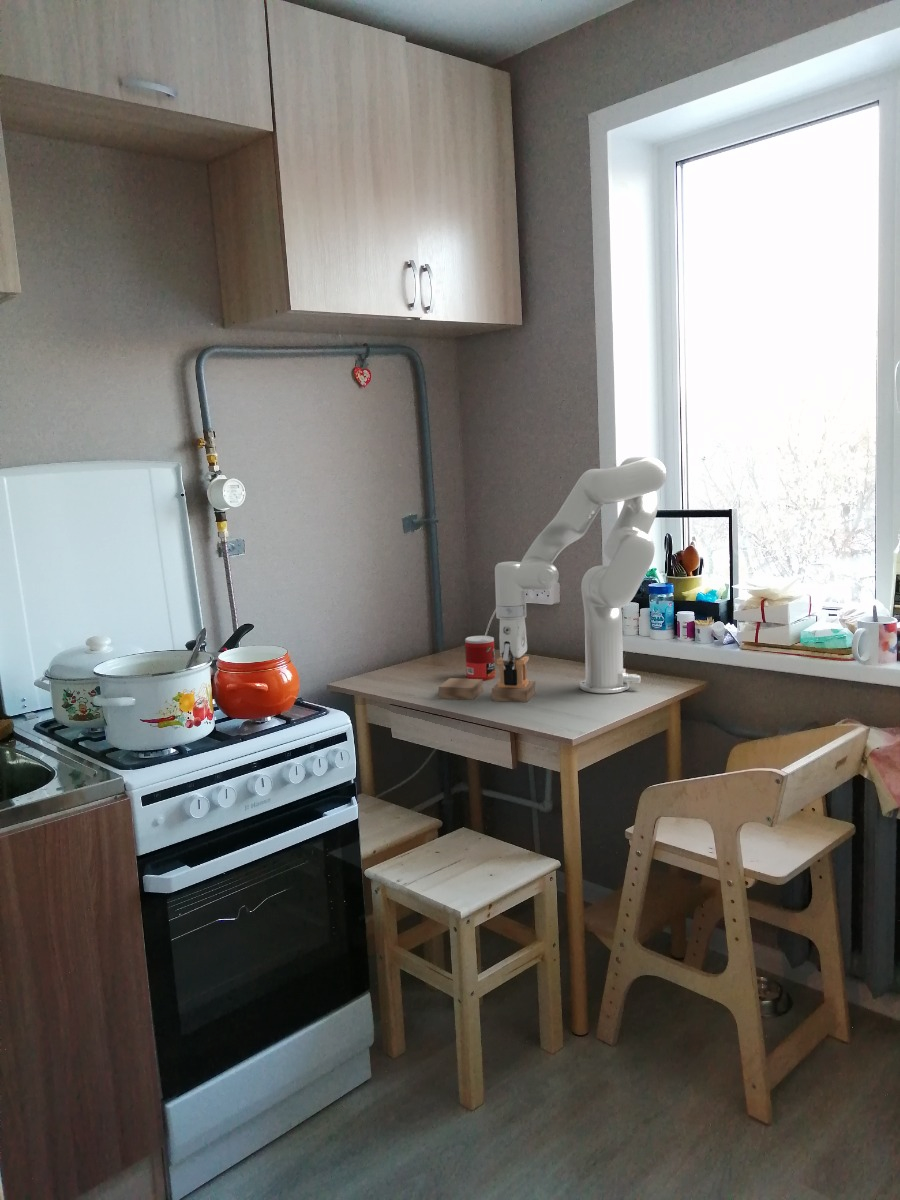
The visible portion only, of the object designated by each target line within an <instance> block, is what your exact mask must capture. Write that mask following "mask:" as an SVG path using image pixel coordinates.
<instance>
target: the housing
mask: <svg viewBox="0 0 900 1200" xmlns="http://www.w3.org/2000/svg"><path fill="white" fill-rule="evenodd" d="M509 657H513V656H510V655H509ZM529 660H530V657H529V655H522V656H521V657H520V658H519V659H517V658H516V664H515V669H516V670H517V685H516V686H513V685H505V684H504V662H503V658H502V657H501V656H500V657H498V658H497V659H496V664H497V665H499V681H498V682H497V683H498V687H510V688H525V687H526V686H527V685H528V684H529V683H530V682H529V681H530V678H529V679H528V678H527V663H528V661H529ZM510 661H511V662H512V660H510Z"/></svg>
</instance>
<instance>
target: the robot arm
mask: <svg viewBox="0 0 900 1200" xmlns="http://www.w3.org/2000/svg"><path fill="white" fill-rule="evenodd" d="M666 479H667V470H666V467H665V464H664V463H663V462H662V461H660V460H659V459H657V458H655V457H650V456H649V457H648V456H644V457H643V456H633V457H629V458H627V459H625V460H624V461H622V462H621V464H620V465H619V466H614V467H610V468H591V469H588V470H586V471H585V472H583V473H582V475H580V477H579V478H578V480H577V482H576V483H575V485H574V486H573V487H572V490H571V492H570V493H569V494H568V495H567V498H566V499H565V500H564V502H563V504H561V505H562V506H561V507H560V509H559V511H557V514H555V516H554V517H553V519H552V520H551V521H550V522H549V523H548V524H547V525H546V526H545V528H543V530H542V531H541V532H540V533H539V534H538V535H537V537H535V539H534V541H533V542H532V543H531V545H530V546H529V548H528V550H527V551H526V553H525V554H524V556H523V558H522V559H521V561H515V560H514V561H509V560H508V561H501V562H498V563H496V565H495V567H494V581H495V582H494V583H495V584H494V585H495V586H494V587H495V612H496V614H495V615H496V619H499V636H498V637H499V638H498V639H499V655H500V657H502V658H503V662H504V684H505V685H513V686H516V685H517V670H516V669H515V664H516V658H517V659H519V658H520V657H521V656H524V655H525V654H526V653H527V651H528V640H527V626H526V619H525V618H527V592H526V591H536V592H537V591H540V592H541V591H542V592H543V591H544V592H545V591H549V590H551V589H552V588H554V587H555V586H556V585H557V584H558V581H559V578H560V577H559V575H560V574H559V570H558V568H557V567H556V566H555V565H554V564H553V563H554V561H555V560H556V559H557V557H558V555H559V554H560V553H561V552H562V551H563V550H564V549H565V548H566V547H568V546H570V545H571V544H572V543H574V542H576V541H578V540H580V539H581V538H582V537H584V536H585V535H586V533H587V531H588V529H590V527H591V525H592V523H593V522H594V520H595V518H597V517H596V516H597V515H598V513H599V512H600V511H601V509H602V507H603V506H604V505H612V504H616V503H617V504H618V503H620V502H624V503H623V505H622V508H621V511H620V513H619V514H618V517H617V519H616V521H615V522H614V525H613V527H612V528H611V530H610V532H609V533H608V536H607V538H606V540H605V542H604V547H603V552H604V555H605V557H606V558H607V560H609V561H610V562H609V565H595V566H593V567H591V568H589V569H587V571H586V572H585V573H584V575H583V577H582V580H581V585H580V586H581V587H580V588H581V597H582V604H583V611H584V612H583V613H584V646H585V647H584V648H585V650H584V654H585V655H584V656H585V662H584V663H585V679H584V680H581V681H580V683H579V688H580V689H581V690H582V691H585V692H589V693H592V694H615V693H623V692H625V691H628V690H629V688H630V683H633V684H641V675H639V674H637V673H628V672H626V669H627V668H624V657H623V656H624V655H623V653H624V651H623V650H624V649H623V647H624V645H623V637H624V636H623V628H624V625H623V612H622V608H624V607H626V606H627V605H629V604H630V602H631V601H632V600H633V599H634V597H635V596H636V594H637V592H638V590H639V588H640V587H641V584H642V583H643V581H644V579H645V577H646V575H647V572H648V571H649V569H650V567H651V565H652V563H653V561H654V556H655V548H656V547H655V543H654V541H653V538H651V536H650V535H649V533H650V530H651V528H652V526H653V524H654V521H655V519H656V516H657V513H658V507H659V500H658V499H659V498H658V493H657V491H658V490H660V489H661V488H662V487H663V485H664V484H665V482H666ZM509 656H513V657H509ZM510 660H512V662H511V661H510Z"/></svg>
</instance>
